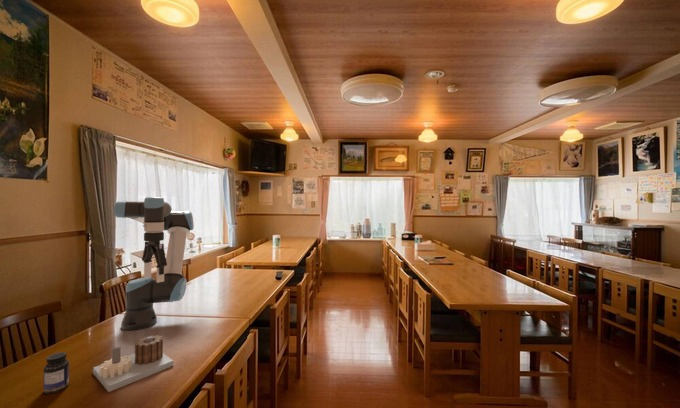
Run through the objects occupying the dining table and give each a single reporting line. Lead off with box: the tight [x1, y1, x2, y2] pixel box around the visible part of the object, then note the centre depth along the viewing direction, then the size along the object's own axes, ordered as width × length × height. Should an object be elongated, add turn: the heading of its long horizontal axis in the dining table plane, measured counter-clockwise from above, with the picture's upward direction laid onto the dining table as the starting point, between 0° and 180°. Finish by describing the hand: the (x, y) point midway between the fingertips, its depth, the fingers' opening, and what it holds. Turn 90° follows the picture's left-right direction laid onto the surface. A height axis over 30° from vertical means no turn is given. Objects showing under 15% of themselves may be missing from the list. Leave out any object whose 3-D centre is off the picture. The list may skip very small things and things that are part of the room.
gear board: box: [92, 336, 174, 393], centre depth 109 cm, size 18×20×10 cm
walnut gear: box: [134, 335, 164, 365], centre depth 113 cm, size 9×9×7 cm
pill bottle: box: [43, 351, 70, 395], centre depth 98 cm, size 6×6×11 cm
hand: (153, 279), depth 131 cm, fingers open, 13 cm apart
